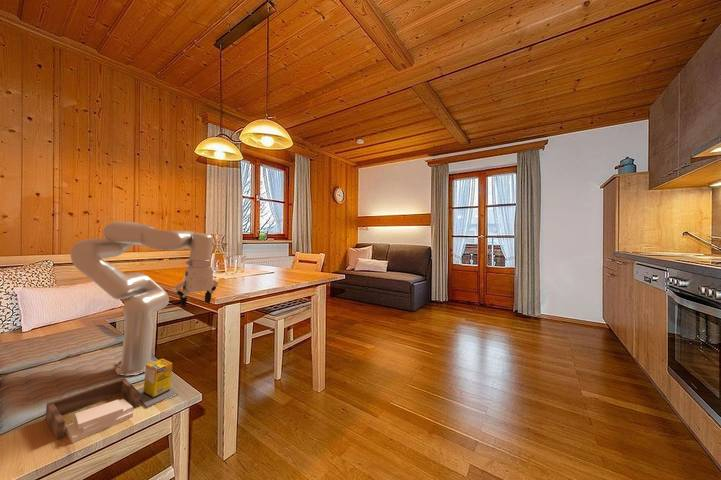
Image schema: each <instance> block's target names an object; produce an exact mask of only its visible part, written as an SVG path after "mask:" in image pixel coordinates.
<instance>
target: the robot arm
mask: <svg viewBox="0 0 721 480" xmlns="http://www.w3.org/2000/svg"><path fill="white" fill-rule="evenodd" d="M102 233H103V238H102V237H100V238H99V237H97V238H87V239H82V240H79V241H77V242H76V243H74V244H73V245H72V247H71V249H70V260H71V262H72V265H74V267H75V268H76V269H77V270H78V271H79V272H80V273H82V274H84V275H85V276H86V277H88V278H89V279H90V280H92V281H93V282H94V283H95V284H96V285H98V286H99V288H101V289H102V290H103V291H105V293H107V295H109V296H110V297H112V299H116V300H124V299H127V300H126V301H125V302H124V304H123V305H122V306H123V308H122V311H123V317H124V330H123V340H122V341H123V343H122V350H121V352H122V353H121V363H120V364H118V365H117V366H116V368H115V371H116V372H115V374H116V373H118V374H123V375H127V374H134V373H140V372H144V371H145V370H146V365H147V364H149V363H152V362H155V361H154V360H153V359H151V358H152V347H153V336H154V327H155V326H154V325H155V324H154V320H153V318H152V315H153V314H154V313H156V312H158V311H161V310H162V309H164V308H166V306H168V304H169V301H170V297H169V294H168V293H167V291H165V290H164V288H162V286H160V285H159V284H158V283H157V282H155V280H154V279H153V278H151V277H150V276H149V275H147V274H145V273H142V272H131V273H124V272H122V271H121V270H120V269H119V268H118V267H117V266H115V265H114V264H112V263H111V262H108V261H106V260H105V259H107V258H108V259H109V258H114V257H118V256H120V255H122V254H125V252H127V251H128V250H129V249H131V248H132V247H133V246H143V247H146V248H149V249H154V250H162V251H163V250H164V251H178V250H179V251H180V250H186V249H190V253H189V258H188V260H186V261H185V265H188V266H186V269H185V271H184V272H185V273H184V276H183V281H182V282H180V283H177V284H176V285H174V287H173V289H174V291H175V293H176V294H177V295H178V296H179V297H180V298H179V305H180V306H181V307H183V308H186V307H187V302H188V301H187V300H188V297H187V296H188V295H189V293H191V294H192V293H200V292H205V294H204V302H205V303H208V304H210V303H211V300H212V294H214V291H216V289H217V287H218V285H219V282H218V281H216V280H215V279H214V274H213V266H211V260H212V252H213V251H212V250H213V241H214V238H213V235H212V234H209V233H205V232H204V233H202V232H196V231H192V230H188V229H187V230H165V229H158V228H157V229H156V228H155V227H154V226H152V225H149V224H141V223H138V222H137V221H136V222H135V221H114V222H110V223H107V224H106V225H105V227H103V230H102ZM103 259H104V260H103ZM181 288H182V290H181ZM141 370H143V371H141ZM118 374H117V375H118Z"/></svg>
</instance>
